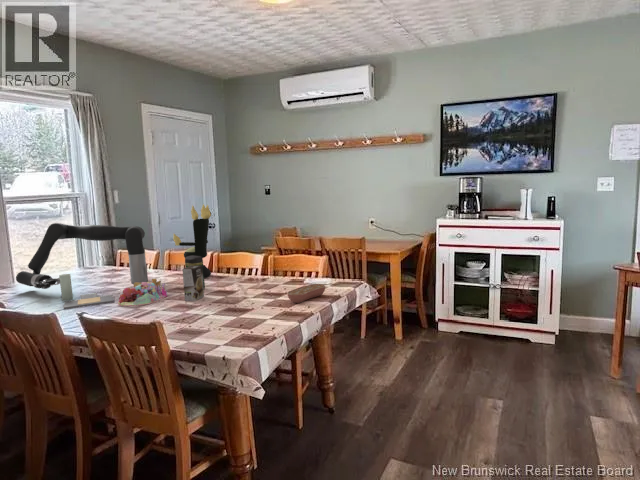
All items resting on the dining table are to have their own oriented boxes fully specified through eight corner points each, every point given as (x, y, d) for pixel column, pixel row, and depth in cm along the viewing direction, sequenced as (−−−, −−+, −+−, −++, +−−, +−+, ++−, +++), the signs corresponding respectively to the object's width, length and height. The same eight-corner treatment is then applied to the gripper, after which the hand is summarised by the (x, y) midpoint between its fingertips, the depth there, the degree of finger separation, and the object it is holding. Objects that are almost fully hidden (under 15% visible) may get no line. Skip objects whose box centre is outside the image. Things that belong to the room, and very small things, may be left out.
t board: (111, 292, 245) (111, 290, 245) (114, 302, 225) (113, 299, 225) (65, 299, 235) (65, 296, 235) (63, 309, 215) (63, 307, 215)
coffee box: (196, 301, 220) (193, 268, 218) (184, 301, 222) (181, 268, 220) (204, 296, 229) (202, 265, 227) (193, 296, 231) (190, 265, 228)
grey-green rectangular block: (73, 297, 238) (70, 273, 236) (72, 299, 233) (70, 275, 231) (62, 299, 235) (59, 274, 234) (61, 301, 231) (59, 276, 229)
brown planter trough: (298, 306, 205) (298, 295, 204) (282, 303, 211) (282, 293, 210) (329, 295, 222) (329, 285, 222) (313, 292, 228) (313, 283, 228)
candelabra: (200, 272, 291) (195, 202, 285) (224, 275, 278) (219, 202, 272) (175, 278, 276) (169, 204, 270) (199, 282, 263) (193, 204, 257)
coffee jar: (207, 288, 246) (205, 255, 243) (196, 291, 239) (193, 257, 237) (196, 286, 251) (193, 253, 249) (184, 289, 245) (181, 256, 243)
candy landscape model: (118, 297, 236) (116, 280, 235) (165, 291, 245) (163, 274, 244) (118, 309, 213) (116, 290, 212) (170, 301, 222) (168, 283, 221)
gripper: (26, 277, 240) (42, 279, 232) (54, 272, 252) (69, 274, 244) (28, 290, 241) (44, 293, 233) (55, 285, 253) (71, 287, 245)
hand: (57, 283), depth 238 cm, fingers open, 8 cm apart
